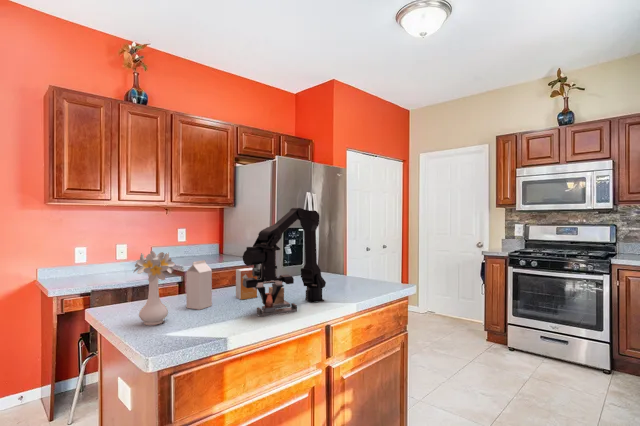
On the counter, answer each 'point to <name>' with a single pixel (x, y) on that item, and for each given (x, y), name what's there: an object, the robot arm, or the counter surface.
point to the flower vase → (154, 285)
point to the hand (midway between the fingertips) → (268, 303)
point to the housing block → (280, 295)
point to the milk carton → (199, 286)
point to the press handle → (268, 303)
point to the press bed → (281, 304)
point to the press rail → (278, 311)
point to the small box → (240, 289)
